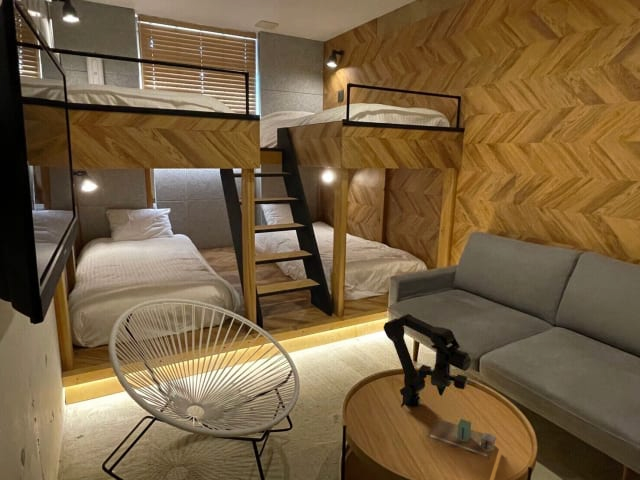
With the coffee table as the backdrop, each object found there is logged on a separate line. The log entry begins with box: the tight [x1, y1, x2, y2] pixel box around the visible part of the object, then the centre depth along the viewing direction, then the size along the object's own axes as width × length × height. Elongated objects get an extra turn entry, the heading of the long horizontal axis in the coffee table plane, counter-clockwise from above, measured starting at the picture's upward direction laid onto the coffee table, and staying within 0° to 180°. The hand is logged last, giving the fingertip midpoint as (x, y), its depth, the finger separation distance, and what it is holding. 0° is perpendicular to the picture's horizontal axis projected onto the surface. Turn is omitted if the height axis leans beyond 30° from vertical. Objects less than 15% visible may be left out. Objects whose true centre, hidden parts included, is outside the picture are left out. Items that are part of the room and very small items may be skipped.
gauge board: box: [426, 417, 497, 460], centre depth 166 cm, size 24×13×5 cm, turn 58°
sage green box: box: [457, 418, 472, 442], centre depth 165 cm, size 4×4×6 cm
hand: (441, 395), depth 175 cm, fingers closed
